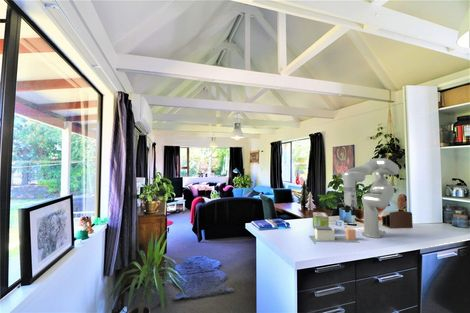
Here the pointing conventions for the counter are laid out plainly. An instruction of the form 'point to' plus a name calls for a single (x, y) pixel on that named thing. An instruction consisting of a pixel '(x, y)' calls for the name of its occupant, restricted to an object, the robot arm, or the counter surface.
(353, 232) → the stub
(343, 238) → the ticket board
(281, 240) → the counter surface
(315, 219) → the tea box
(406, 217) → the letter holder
